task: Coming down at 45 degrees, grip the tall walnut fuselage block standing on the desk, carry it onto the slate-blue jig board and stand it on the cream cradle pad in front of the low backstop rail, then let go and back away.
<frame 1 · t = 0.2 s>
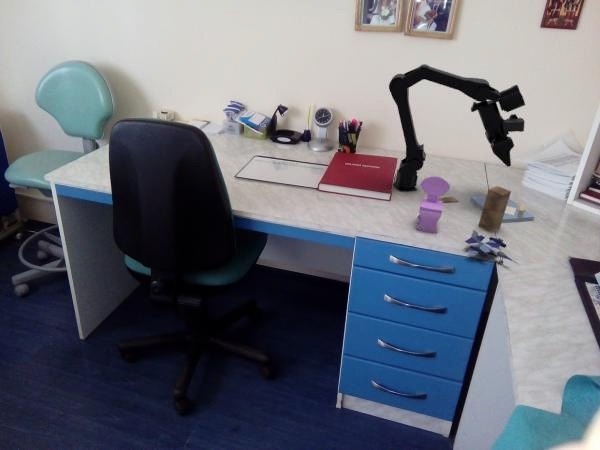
hand: (506, 161, 153), 15 cm above the table, tool tilted 30°, fingers open, 9 cm apart
toy airplane: (488, 257, 129), on the table
jig board: (500, 209, 155), on the table
toy chair: (426, 225, 143), on the table
wing slat: (443, 202, 159), on the table
fuselage block: (489, 227, 144), on the table
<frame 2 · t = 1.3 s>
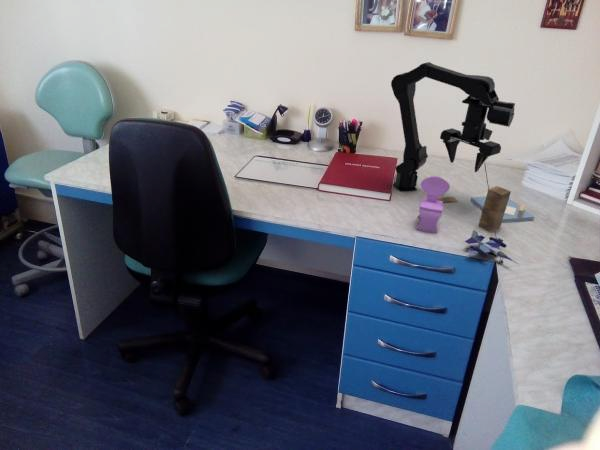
hand: (463, 166, 151), 13 cm above the table, tool pointing down, fingers open, 9 cm apart
nothing on the table moved.
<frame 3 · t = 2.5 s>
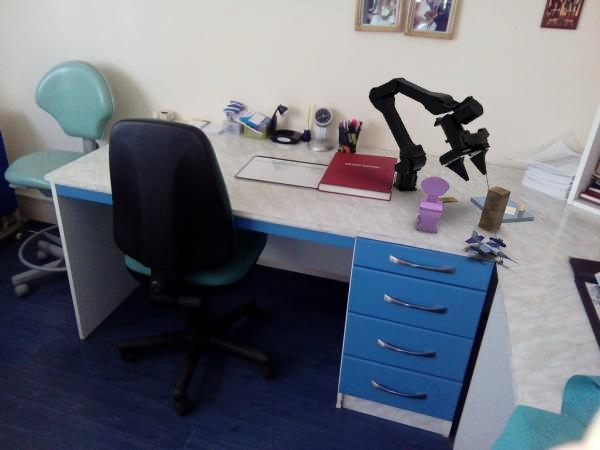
hand: (476, 177, 143), 13 cm above the table, tool tilted 45°, fingers open, 9 cm apart
nothing on the table moved.
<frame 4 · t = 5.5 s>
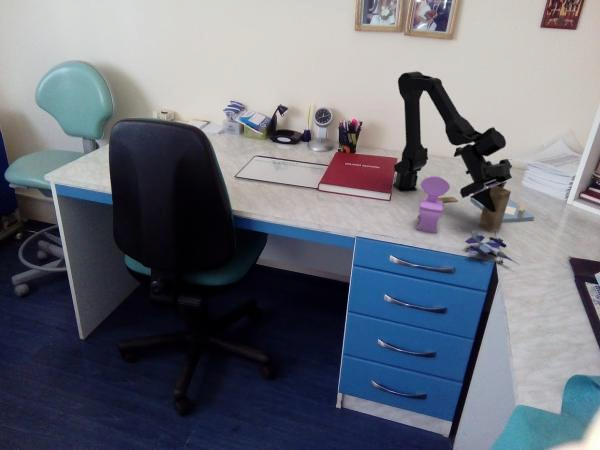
hand: (498, 209, 140), 7 cm above the table, tool tilted 45°, fingers closed on fuselage block, 5 cm apart
fuselage block: (489, 227, 144), on the table, touching gripper
everything else where it was.
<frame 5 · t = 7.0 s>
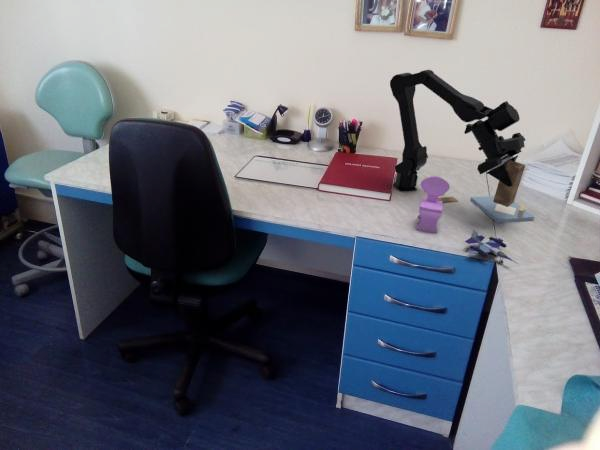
hand: (513, 184, 140), 13 cm above the table, tool tilted 45°, fingers closed on fuselage block, 5 cm apart
fuselage block: (503, 202, 144), point 7 cm above the table, touching gripper
everything else where it was.
when the fingers open (9 cm above the table, at t = 8.6 s): fuselage block drops 1 cm, resting on jig board.
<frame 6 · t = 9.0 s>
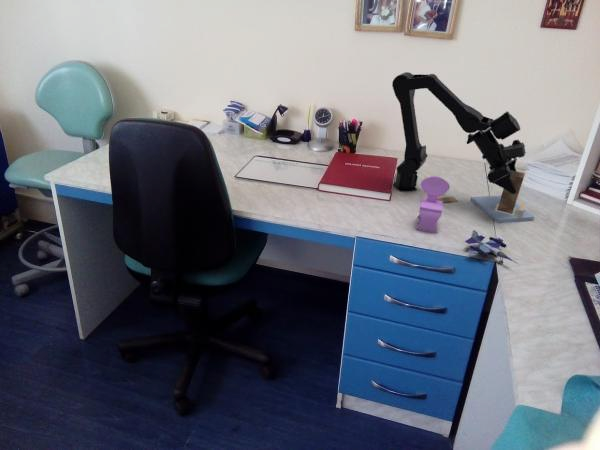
hand: (516, 188, 148), 9 cm above the table, tool tilted 45°, fingers open, 9 cm apart
fuselage block: (505, 209, 152), point 1 cm above the table, touching jig board
everything else where it was.
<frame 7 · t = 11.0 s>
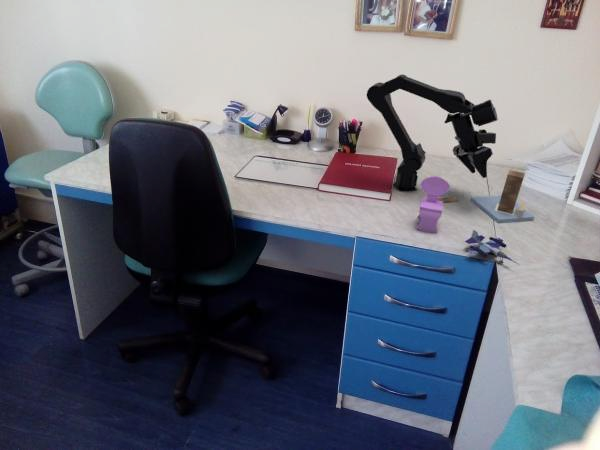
hand: (479, 175, 154), 10 cm above the table, tool tilted 30°, fingers open, 9 cm apart
nothing on the table moved.
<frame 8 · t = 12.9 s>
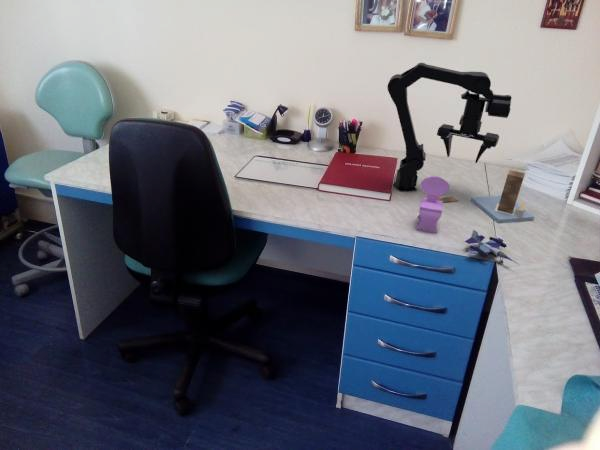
hand: (462, 159, 157), 13 cm above the table, tool pointing down, fingers open, 9 cm apart
nothing on the table moved.
at the end: fuselage block 0.1 cm from the target spot, point 1.3 cm above the table; fuselage block tilted 0°; the gripper is holding nothing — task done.
